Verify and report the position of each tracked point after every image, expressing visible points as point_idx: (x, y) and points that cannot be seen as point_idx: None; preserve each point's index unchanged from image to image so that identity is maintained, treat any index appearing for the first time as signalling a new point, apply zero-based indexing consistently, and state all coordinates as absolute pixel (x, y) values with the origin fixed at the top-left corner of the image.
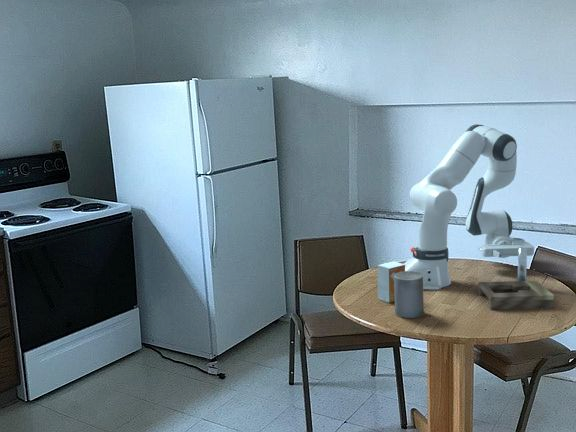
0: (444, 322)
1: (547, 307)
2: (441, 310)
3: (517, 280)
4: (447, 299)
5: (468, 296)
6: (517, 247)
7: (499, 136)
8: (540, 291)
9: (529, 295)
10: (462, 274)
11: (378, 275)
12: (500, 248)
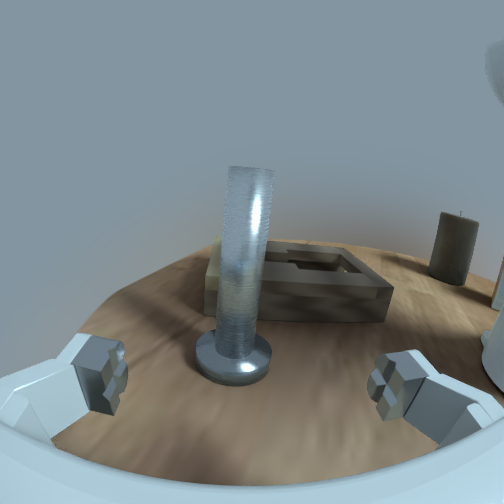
0: (392, 261)
1: None
2: (414, 279)
3: (244, 370)
4: (432, 304)
5: (401, 313)
6: (58, 464)
7: None
8: None
9: (267, 241)
10: None
11: None
12: (457, 443)
